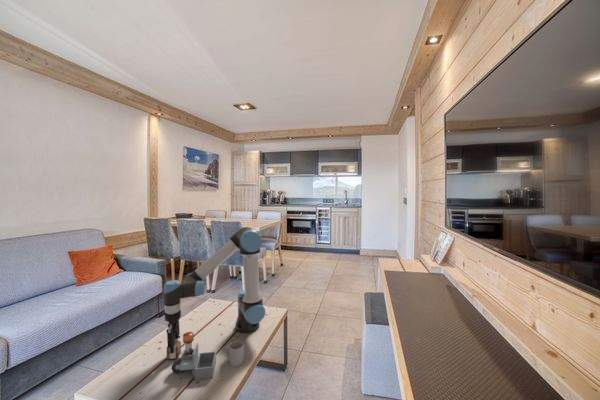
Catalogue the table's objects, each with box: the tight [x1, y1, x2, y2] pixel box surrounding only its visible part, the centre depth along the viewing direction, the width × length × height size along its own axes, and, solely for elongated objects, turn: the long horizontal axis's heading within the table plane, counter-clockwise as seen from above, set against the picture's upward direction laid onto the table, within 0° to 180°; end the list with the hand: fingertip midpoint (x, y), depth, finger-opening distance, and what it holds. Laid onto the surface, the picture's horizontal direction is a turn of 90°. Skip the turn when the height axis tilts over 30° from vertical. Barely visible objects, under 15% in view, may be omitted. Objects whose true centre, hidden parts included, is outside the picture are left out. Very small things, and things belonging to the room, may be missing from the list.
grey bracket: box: [171, 342, 199, 377], centre depth 125 cm, size 11×9×10 cm
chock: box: [166, 340, 182, 360], centre depth 135 cm, size 6×5×6 cm
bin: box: [194, 351, 217, 381], centre depth 126 cm, size 8×12×5 cm, turn 10°
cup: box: [224, 340, 245, 367], centre depth 132 cm, size 7×10×9 cm
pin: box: [182, 331, 195, 355], centre depth 126 cm, size 5×5×11 cm
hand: (174, 354), depth 136 cm, fingers closed on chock, 5 cm apart
